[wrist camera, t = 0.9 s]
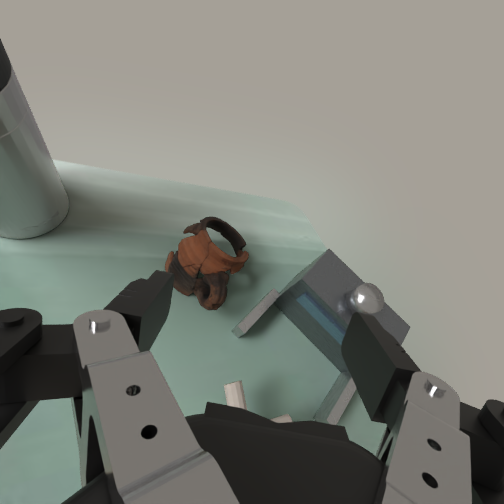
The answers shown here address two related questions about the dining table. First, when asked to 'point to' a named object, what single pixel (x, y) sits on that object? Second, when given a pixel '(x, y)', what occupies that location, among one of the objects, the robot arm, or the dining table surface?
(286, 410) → the dining table surface
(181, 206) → the dining table surface
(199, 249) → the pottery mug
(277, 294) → the grey boxy knob-topped device
